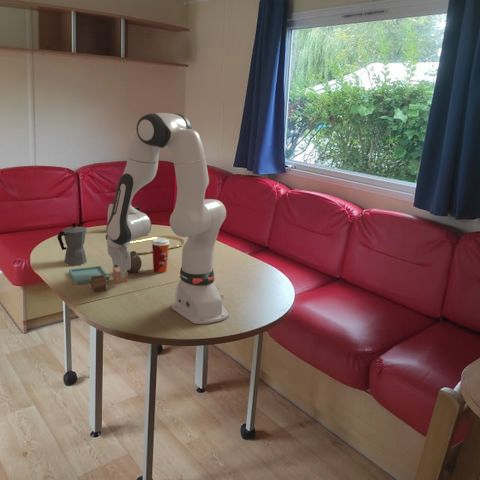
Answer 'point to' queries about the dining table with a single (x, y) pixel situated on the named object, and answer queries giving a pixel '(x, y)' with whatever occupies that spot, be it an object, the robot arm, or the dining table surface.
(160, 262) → the paper cup
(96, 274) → the tray
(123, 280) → the terracotta block
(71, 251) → the coffeepot
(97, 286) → the walnut block
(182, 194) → the robot arm
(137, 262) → the vase
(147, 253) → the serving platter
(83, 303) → the dining table surface
